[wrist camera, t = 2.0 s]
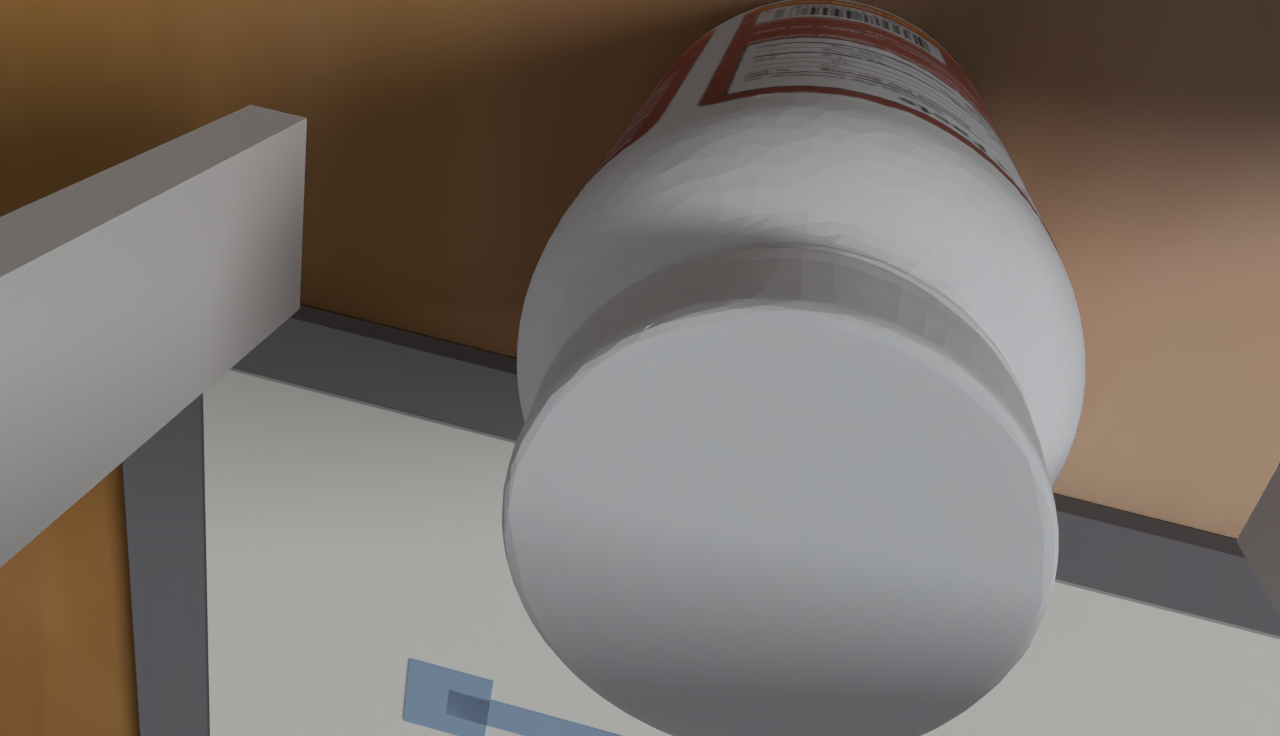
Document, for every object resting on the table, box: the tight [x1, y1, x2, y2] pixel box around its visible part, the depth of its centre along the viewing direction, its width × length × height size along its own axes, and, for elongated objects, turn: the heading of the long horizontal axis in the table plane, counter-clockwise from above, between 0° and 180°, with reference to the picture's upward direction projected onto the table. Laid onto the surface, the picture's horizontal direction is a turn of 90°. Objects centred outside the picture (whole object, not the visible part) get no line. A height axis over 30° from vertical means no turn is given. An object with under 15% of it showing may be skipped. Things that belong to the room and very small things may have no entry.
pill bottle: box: [502, 0, 1085, 736], centre depth 14 cm, size 6×6×11 cm
